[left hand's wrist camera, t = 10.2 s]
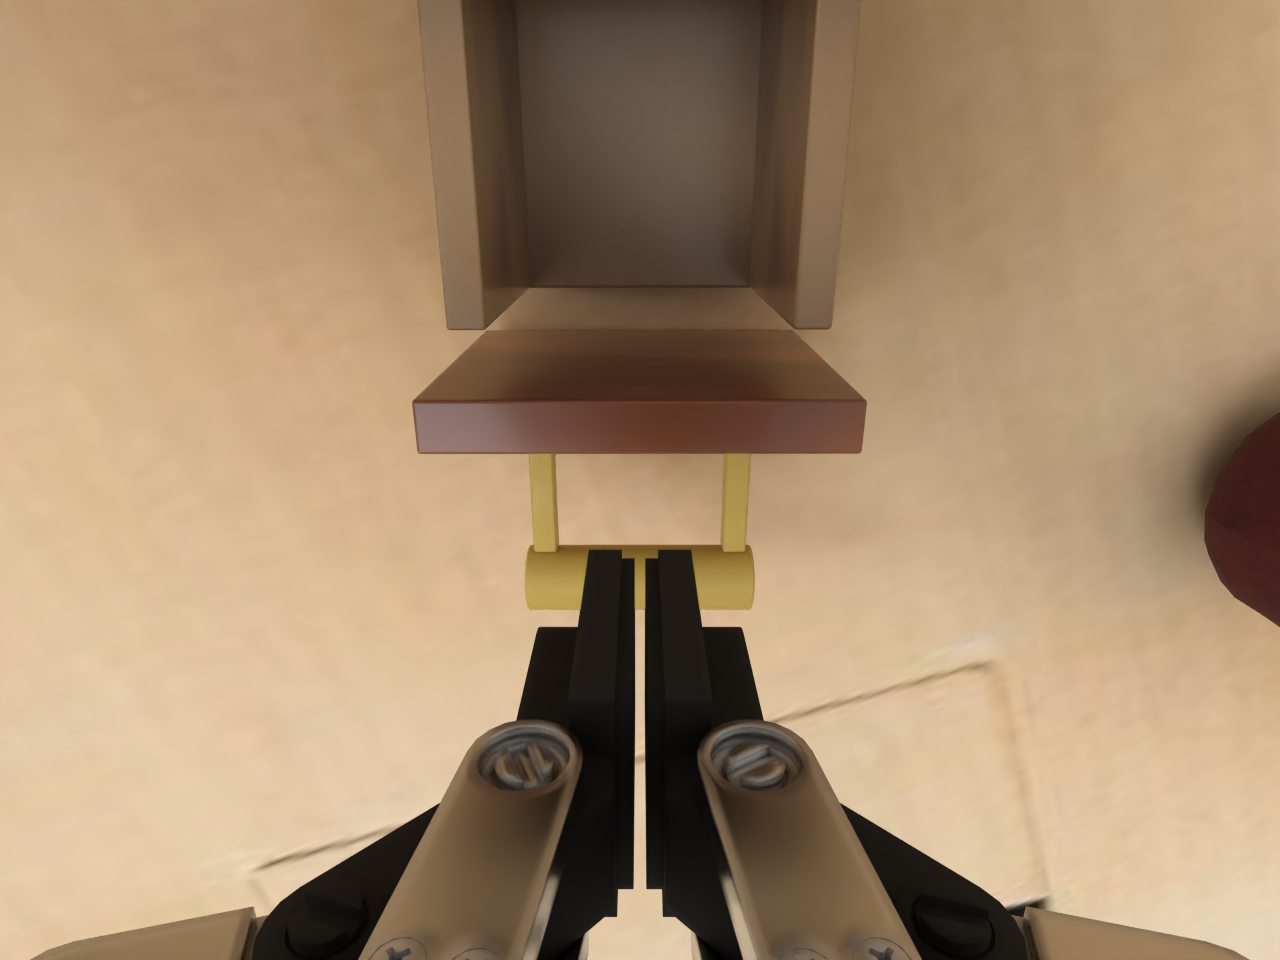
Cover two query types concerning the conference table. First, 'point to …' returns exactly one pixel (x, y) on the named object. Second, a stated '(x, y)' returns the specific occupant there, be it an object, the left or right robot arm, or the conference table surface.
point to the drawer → (639, 242)
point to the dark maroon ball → (1249, 522)
